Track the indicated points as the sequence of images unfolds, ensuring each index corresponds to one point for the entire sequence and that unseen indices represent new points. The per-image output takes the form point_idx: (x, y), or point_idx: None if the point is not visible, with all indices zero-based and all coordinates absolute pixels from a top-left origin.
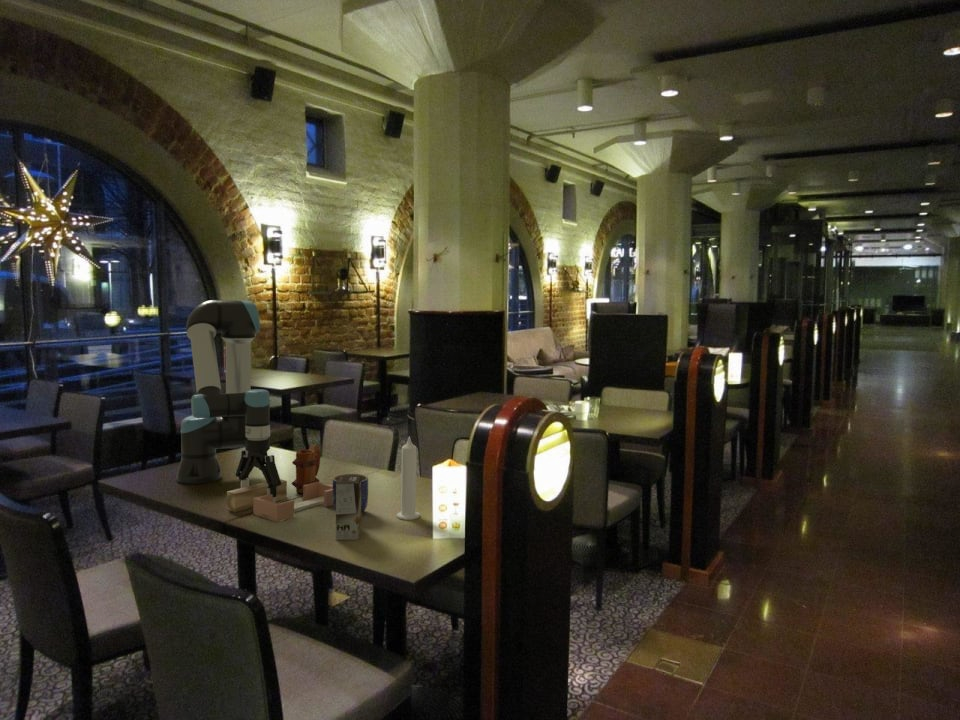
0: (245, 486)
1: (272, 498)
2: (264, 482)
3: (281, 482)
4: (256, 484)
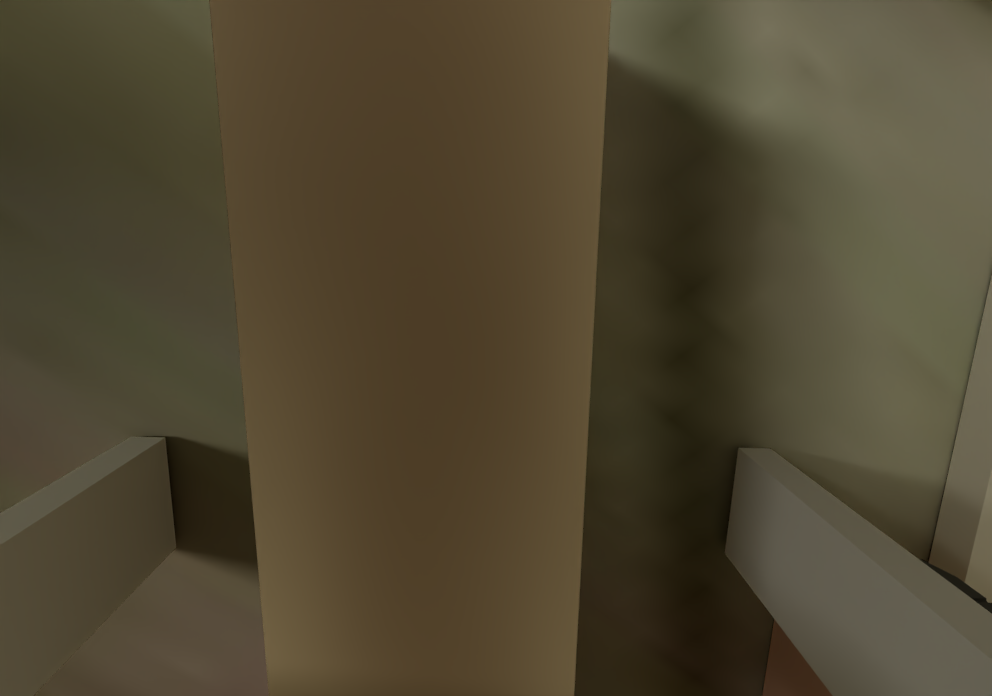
0: (13, 634)
1: None
2: (253, 393)
3: (603, 45)
4: (281, 638)
